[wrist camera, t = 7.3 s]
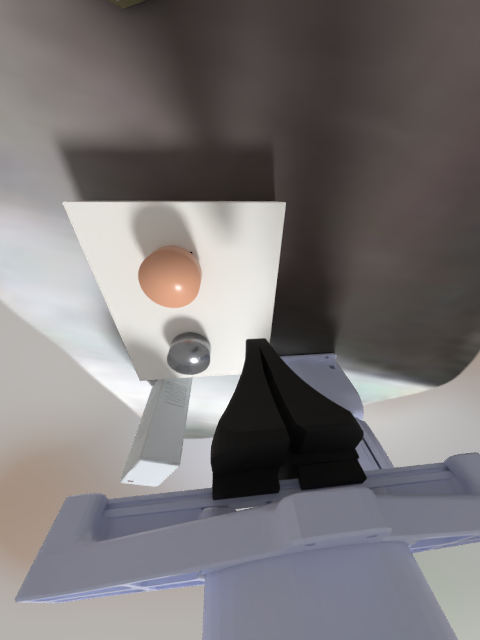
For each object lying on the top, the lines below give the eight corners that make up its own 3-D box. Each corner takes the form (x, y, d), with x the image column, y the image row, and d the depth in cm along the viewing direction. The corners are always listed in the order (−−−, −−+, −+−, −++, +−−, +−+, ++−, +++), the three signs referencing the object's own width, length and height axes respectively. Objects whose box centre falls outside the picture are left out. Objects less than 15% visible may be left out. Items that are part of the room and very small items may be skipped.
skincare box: (177, 394, 31) (157, 488, 21) (151, 387, 30) (117, 483, 20) (194, 372, 29) (181, 466, 19) (167, 363, 27) (137, 460, 17)
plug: (210, 315, 23) (208, 343, 19) (213, 343, 25) (211, 373, 21) (173, 317, 23) (162, 345, 18) (179, 345, 25) (171, 376, 21)
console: (275, 201, 17) (286, 202, 14) (261, 353, 28) (266, 372, 25) (90, 200, 16) (62, 202, 13) (148, 360, 27) (140, 380, 24)
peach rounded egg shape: (202, 237, 17) (196, 251, 13) (206, 282, 20) (202, 306, 16) (152, 237, 17) (129, 252, 13) (163, 283, 19) (147, 309, 15)
